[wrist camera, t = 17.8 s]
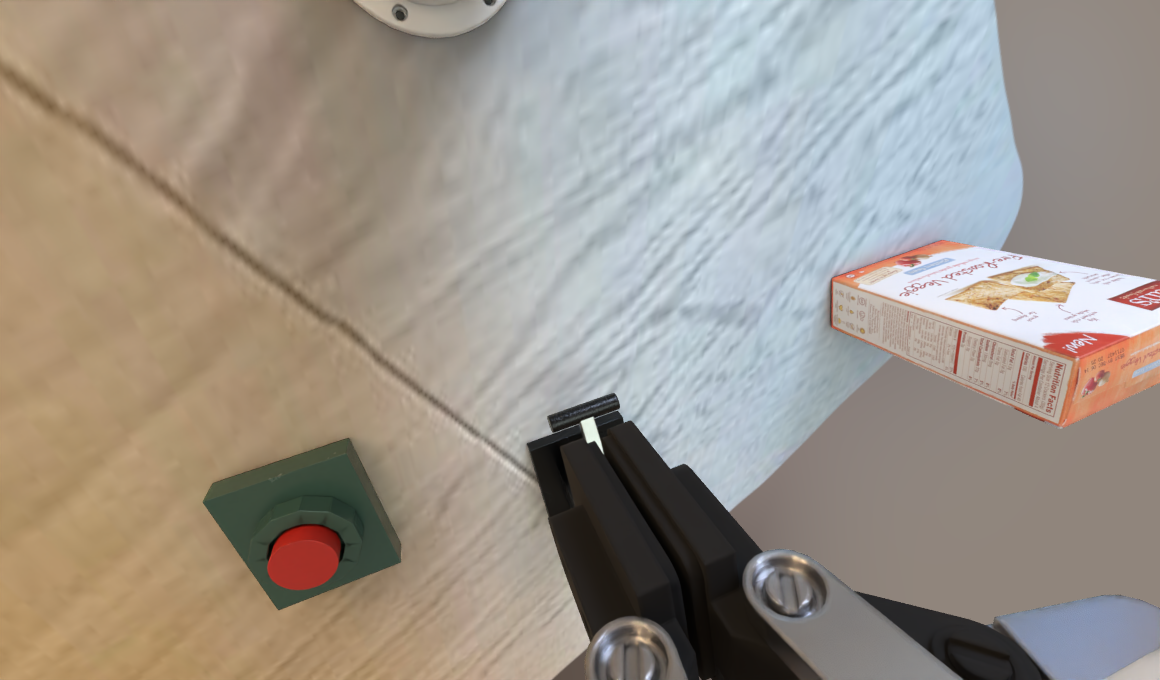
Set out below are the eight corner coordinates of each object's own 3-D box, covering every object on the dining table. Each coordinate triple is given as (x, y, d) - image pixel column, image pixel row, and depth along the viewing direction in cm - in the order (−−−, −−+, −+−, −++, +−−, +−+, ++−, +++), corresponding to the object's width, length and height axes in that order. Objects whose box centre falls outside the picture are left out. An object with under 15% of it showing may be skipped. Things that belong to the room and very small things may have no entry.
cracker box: (940, 234, 51) (1237, 290, 33) (934, 288, 54) (1206, 367, 36) (828, 273, 49) (1086, 358, 30) (827, 328, 51) (1064, 436, 33)
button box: (212, 483, 37) (192, 519, 34) (348, 437, 39) (343, 467, 36) (283, 589, 42) (273, 630, 39) (401, 544, 45) (401, 579, 41)
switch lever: (544, 413, 39) (550, 419, 36) (609, 390, 40) (619, 394, 37) (592, 565, 40) (600, 580, 38) (654, 539, 41) (665, 552, 39)
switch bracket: (526, 443, 45) (563, 536, 34) (617, 410, 47) (678, 488, 36) (550, 523, 49) (589, 627, 39) (633, 490, 51) (691, 580, 41)
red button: (261, 538, 36) (255, 556, 35) (326, 514, 37) (323, 531, 36) (289, 580, 38) (284, 599, 37) (350, 557, 39) (348, 574, 38)
